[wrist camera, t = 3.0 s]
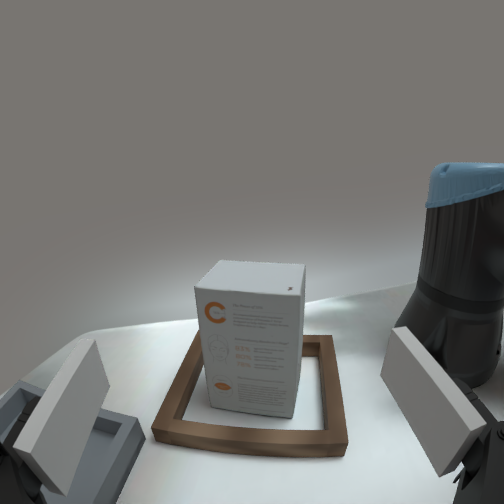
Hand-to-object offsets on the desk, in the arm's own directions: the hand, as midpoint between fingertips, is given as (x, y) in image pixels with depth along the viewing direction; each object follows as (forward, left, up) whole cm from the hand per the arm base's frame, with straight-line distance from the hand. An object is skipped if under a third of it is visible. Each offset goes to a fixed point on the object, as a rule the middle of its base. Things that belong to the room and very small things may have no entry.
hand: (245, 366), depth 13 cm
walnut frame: (+1, -13, -14) cm, 19 cm away
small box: (+1, -13, -14) cm, 19 cm away
